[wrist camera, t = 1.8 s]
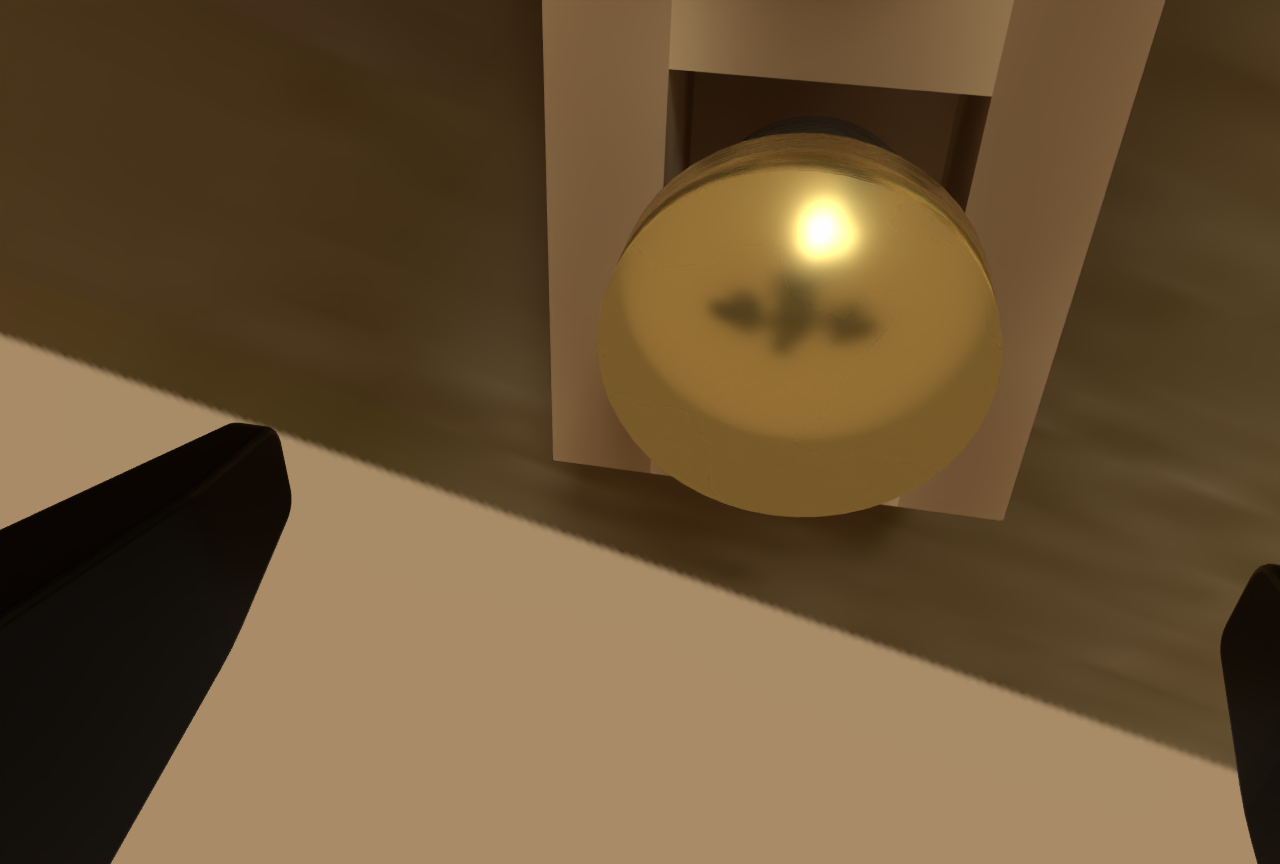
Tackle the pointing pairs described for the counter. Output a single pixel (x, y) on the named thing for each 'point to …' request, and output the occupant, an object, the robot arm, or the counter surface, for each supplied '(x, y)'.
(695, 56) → the oak block
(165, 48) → the counter surface
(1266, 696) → the robot arm
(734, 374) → the brass plug
